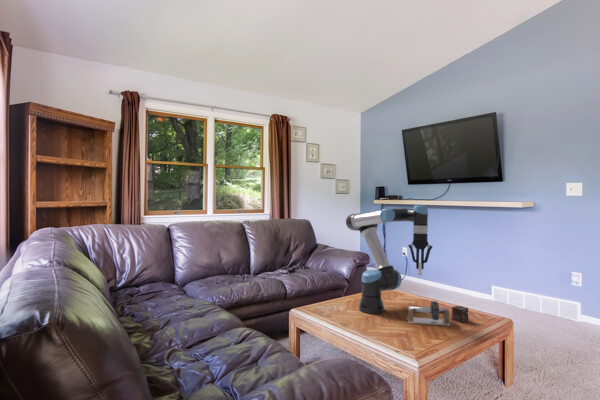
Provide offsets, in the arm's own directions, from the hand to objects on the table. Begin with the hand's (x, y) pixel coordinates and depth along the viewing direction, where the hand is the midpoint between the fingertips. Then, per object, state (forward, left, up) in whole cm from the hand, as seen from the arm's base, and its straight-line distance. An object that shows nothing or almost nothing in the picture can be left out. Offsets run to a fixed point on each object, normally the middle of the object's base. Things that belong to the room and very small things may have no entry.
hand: (419, 274), depth 187 cm
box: (+22, +2, -25) cm, 33 cm away
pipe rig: (+4, -4, -25) cm, 25 cm away
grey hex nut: (+7, -4, -23) cm, 24 cm away
